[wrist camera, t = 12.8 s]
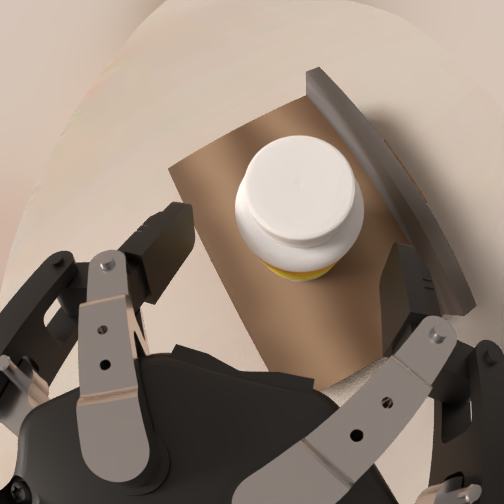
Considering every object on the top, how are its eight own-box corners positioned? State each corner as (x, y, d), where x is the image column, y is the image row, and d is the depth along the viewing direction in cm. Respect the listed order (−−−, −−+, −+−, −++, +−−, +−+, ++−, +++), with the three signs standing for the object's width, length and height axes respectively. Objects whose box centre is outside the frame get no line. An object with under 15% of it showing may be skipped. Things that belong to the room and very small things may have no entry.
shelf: (320, 114, 25) (323, 65, 18) (436, 301, 21) (480, 302, 14) (185, 185, 26) (151, 152, 19) (290, 388, 22) (286, 423, 15)
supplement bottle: (352, 265, 19) (404, 233, 9) (274, 293, 19) (247, 289, 9) (322, 190, 20) (338, 101, 10) (248, 216, 20) (202, 146, 10)
